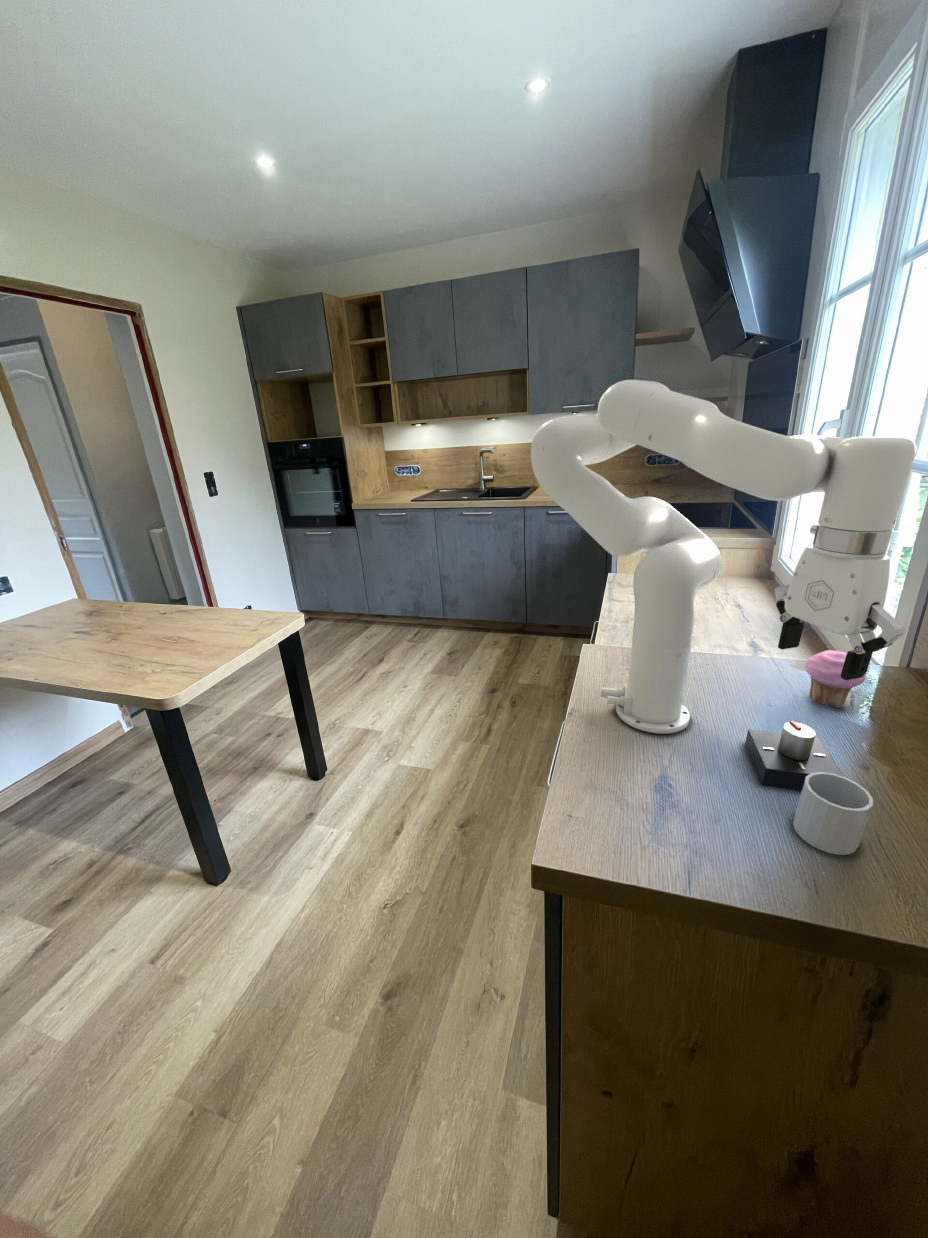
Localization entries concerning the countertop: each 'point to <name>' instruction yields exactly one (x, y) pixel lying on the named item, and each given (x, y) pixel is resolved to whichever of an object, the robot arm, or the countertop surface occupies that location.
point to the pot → (832, 813)
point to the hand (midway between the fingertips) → (817, 661)
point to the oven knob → (796, 740)
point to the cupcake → (829, 678)
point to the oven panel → (786, 761)
